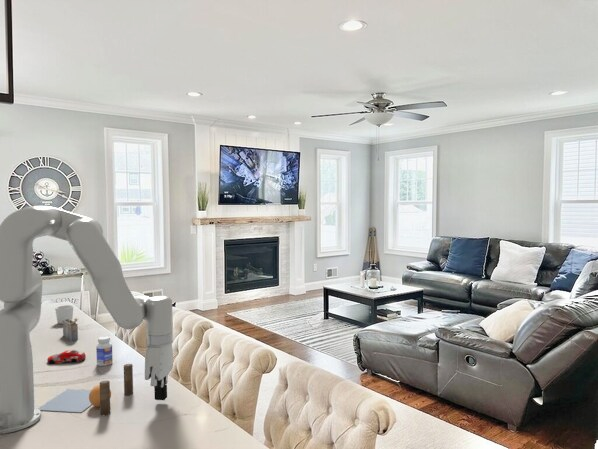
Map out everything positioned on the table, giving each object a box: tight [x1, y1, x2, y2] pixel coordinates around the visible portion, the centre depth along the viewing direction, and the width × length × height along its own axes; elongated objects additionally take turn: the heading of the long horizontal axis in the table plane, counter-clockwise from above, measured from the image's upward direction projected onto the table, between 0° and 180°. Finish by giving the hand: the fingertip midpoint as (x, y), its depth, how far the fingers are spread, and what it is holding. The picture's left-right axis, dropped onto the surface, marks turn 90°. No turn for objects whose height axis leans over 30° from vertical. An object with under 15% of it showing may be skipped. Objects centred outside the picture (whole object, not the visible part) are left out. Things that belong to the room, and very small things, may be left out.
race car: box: [46, 349, 86, 365], centre depth 165 cm, size 13×5×4 cm, turn 96°
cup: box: [54, 304, 74, 325], centre depth 220 cm, size 11×8×8 cm
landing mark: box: [37, 388, 93, 414], centre depth 132 cm, size 14×14×1 cm
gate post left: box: [99, 380, 111, 417], centre depth 123 cm, size 3×3×9 cm
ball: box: [89, 384, 112, 407], centre depth 128 cm, size 6×6×6 cm
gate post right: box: [123, 363, 134, 396], centre depth 136 cm, size 3×3×9 cm
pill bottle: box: [95, 336, 114, 367], centre depth 162 cm, size 5×5×10 cm
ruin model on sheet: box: [62, 317, 79, 342], centre depth 194 cm, size 11×3×10 cm, turn 45°
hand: (160, 398), depth 130 cm, fingers closed
